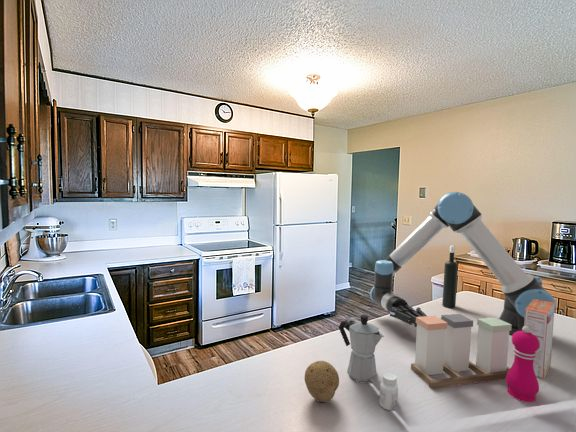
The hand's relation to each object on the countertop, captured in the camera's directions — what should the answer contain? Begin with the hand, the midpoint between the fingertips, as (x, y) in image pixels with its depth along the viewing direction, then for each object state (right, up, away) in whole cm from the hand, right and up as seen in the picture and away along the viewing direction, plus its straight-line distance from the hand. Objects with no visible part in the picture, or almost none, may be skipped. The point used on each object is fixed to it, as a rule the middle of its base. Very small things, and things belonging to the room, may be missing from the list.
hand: (432, 329), depth 108 cm
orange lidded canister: (-6, -9, -10) cm, 14 cm away
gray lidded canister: (+3, -9, -8) cm, 12 cm away
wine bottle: (+31, -7, +52) cm, 60 cm away
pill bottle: (-22, -11, -25) cm, 35 cm away
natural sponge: (-39, -10, -23) cm, 47 cm away
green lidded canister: (+13, -9, -10) cm, 19 cm away
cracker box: (+29, -11, -6) cm, 32 cm away
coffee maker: (-27, -10, -10) cm, 30 cm away
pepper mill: (+14, -12, -21) cm, 28 cm away
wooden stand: (+3, -10, -10) cm, 15 cm away
